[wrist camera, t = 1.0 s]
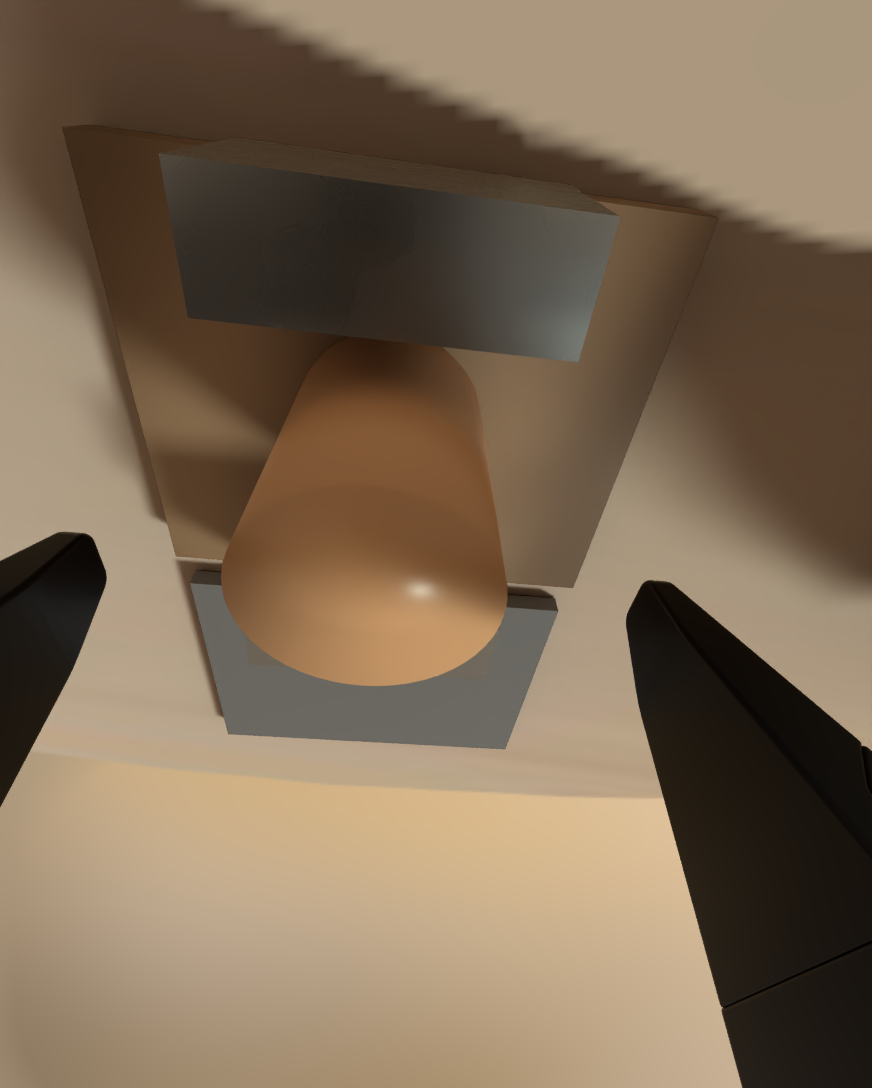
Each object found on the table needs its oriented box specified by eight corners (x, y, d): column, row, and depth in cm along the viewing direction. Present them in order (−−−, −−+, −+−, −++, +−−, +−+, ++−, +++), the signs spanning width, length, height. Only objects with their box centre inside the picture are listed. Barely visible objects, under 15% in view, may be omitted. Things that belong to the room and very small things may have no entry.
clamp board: (698, 210, 11) (718, 218, 10) (566, 566, 17) (572, 587, 17) (90, 125, 10) (62, 126, 9) (187, 534, 16) (175, 556, 16)
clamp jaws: (569, 184, 10) (620, 216, 7) (476, 585, 16) (485, 679, 14) (237, 137, 9) (158, 153, 7) (279, 569, 16) (249, 664, 13)
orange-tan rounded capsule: (496, 342, 12) (537, 500, 7) (466, 504, 14) (481, 693, 10) (292, 318, 11) (197, 469, 7) (302, 489, 14) (239, 677, 10)
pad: (555, 598, 18) (558, 611, 18) (503, 737, 24) (505, 749, 24) (196, 570, 17) (189, 583, 17) (232, 721, 23) (228, 734, 23)
